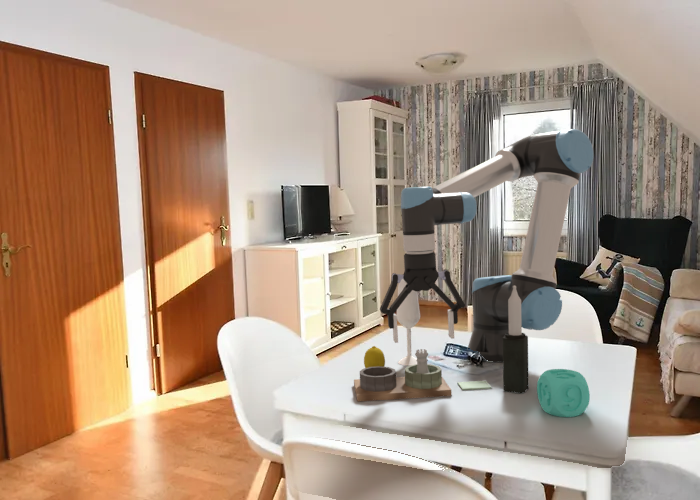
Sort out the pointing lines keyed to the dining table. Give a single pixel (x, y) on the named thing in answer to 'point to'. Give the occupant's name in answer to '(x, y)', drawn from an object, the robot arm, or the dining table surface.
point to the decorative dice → (563, 392)
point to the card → (474, 385)
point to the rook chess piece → (422, 361)
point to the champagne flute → (408, 319)
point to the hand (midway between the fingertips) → (423, 339)
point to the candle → (515, 349)
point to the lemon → (374, 358)
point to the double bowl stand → (400, 384)
